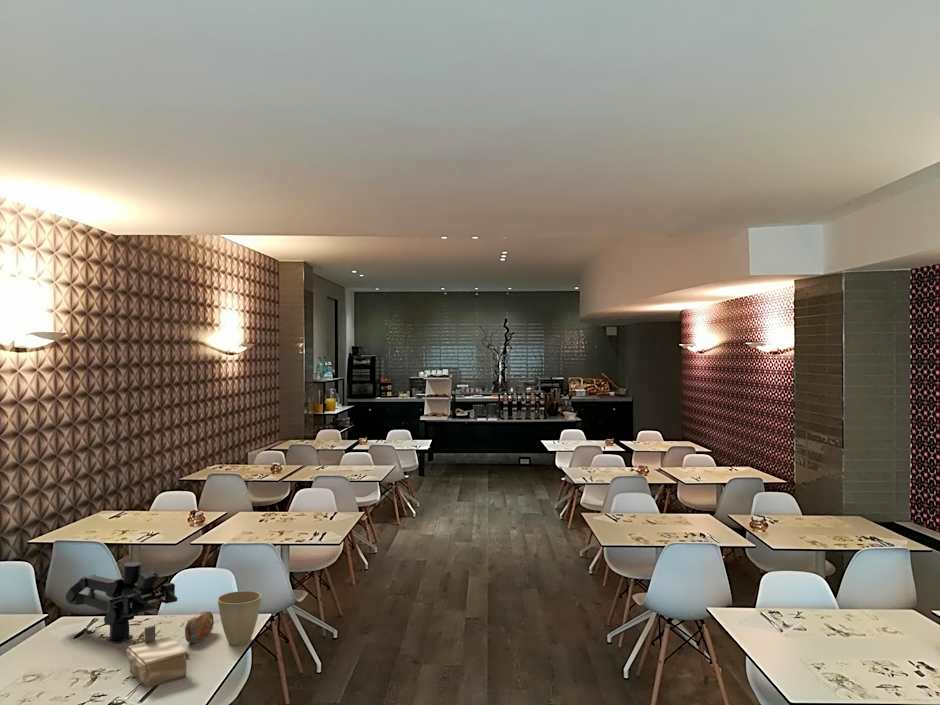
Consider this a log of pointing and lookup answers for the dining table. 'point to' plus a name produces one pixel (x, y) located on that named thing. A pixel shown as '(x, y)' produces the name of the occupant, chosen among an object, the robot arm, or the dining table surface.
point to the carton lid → (154, 650)
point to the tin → (199, 627)
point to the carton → (160, 671)
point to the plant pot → (239, 615)
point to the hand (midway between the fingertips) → (165, 603)
